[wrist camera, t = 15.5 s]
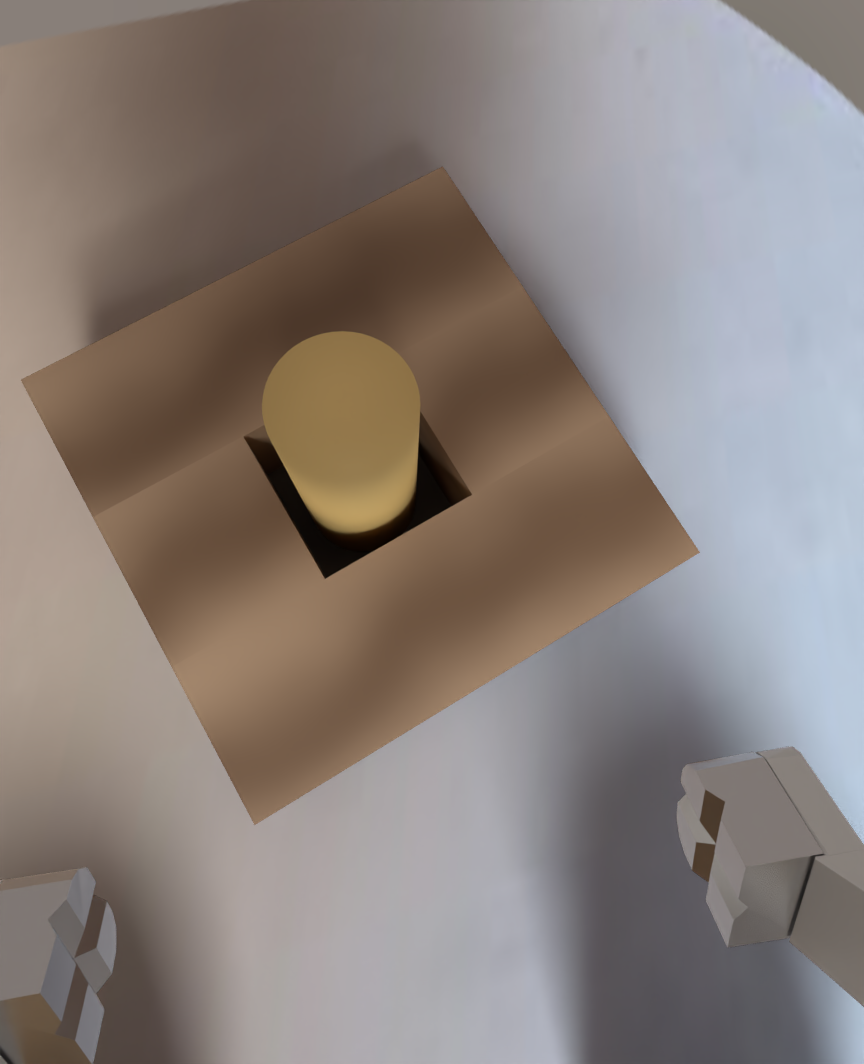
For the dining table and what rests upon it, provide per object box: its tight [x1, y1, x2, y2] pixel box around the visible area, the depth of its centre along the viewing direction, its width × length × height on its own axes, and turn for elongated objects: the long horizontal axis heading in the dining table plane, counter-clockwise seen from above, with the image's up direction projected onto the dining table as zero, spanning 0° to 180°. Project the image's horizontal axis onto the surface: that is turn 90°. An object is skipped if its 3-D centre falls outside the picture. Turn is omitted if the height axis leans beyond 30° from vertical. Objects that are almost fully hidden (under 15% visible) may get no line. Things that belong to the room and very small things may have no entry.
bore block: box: [21, 167, 700, 825], centre depth 28 cm, size 16×16×6 cm
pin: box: [262, 331, 420, 552], centre depth 25 cm, size 4×4×10 cm
